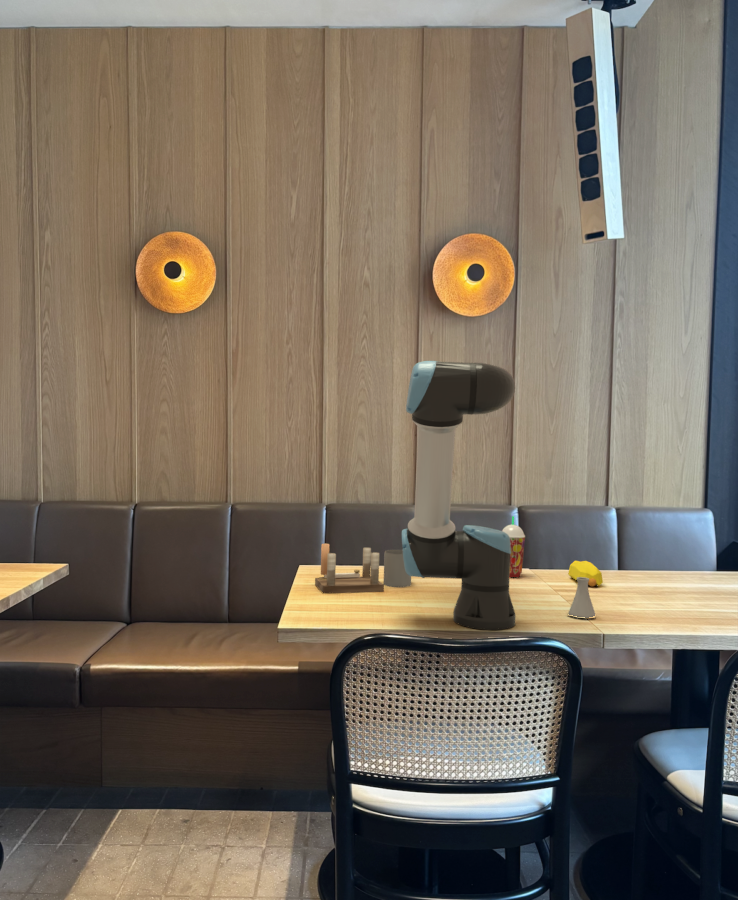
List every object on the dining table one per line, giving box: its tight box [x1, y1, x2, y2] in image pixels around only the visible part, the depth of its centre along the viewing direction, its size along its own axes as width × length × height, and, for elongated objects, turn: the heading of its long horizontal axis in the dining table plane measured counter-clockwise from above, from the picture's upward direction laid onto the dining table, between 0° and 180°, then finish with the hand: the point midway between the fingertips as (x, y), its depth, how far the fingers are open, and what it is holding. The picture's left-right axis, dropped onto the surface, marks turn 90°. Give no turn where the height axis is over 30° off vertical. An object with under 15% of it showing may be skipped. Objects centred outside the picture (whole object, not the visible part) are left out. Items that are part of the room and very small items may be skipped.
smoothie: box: [501, 515, 526, 578], centre depth 230 cm, size 8×8×20 cm
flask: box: [567, 577, 596, 618], centre depth 179 cm, size 7×7×10 cm
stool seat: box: [314, 547, 385, 594], centre depth 205 cm, size 12×18×11 cm
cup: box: [383, 549, 412, 588], centre depth 212 cm, size 8×8×10 cm
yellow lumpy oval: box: [567, 560, 604, 587], centre depth 224 cm, size 18×7×8 cm
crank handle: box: [320, 543, 361, 578], centre depth 209 cm, size 2×12×10 cm, turn 106°
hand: (427, 493), depth 204 cm, fingers closed
